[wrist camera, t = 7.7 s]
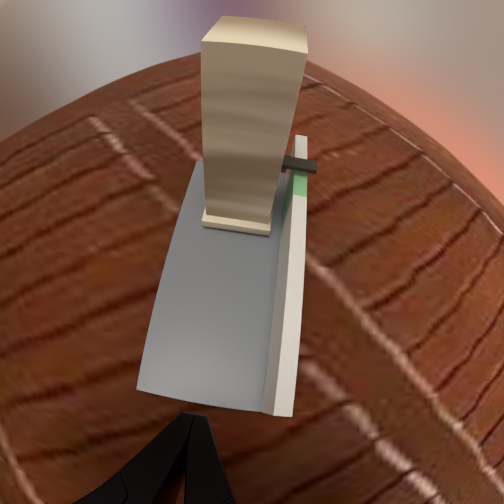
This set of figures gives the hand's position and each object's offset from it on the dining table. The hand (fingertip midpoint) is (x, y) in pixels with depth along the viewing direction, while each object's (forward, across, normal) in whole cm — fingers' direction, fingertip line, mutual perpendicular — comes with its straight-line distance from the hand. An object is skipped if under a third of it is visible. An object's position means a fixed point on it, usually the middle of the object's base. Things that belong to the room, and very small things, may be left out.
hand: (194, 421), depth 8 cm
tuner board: (+12, 0, -1) cm, 12 cm away
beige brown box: (+14, -1, -5) cm, 15 cm away
